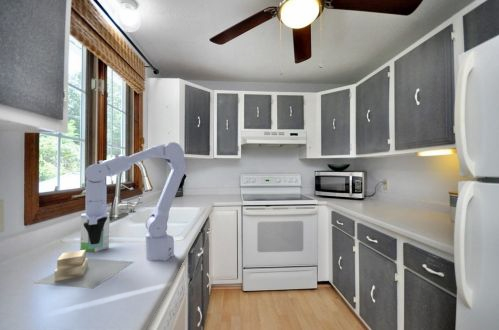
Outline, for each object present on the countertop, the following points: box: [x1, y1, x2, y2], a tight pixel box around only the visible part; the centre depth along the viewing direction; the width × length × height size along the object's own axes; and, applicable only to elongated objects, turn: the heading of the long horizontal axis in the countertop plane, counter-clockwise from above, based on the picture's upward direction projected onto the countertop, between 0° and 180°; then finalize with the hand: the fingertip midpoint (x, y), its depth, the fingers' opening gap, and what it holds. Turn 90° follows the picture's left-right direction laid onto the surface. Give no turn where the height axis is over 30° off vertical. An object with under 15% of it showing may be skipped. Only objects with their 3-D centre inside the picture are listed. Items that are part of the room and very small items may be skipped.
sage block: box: [88, 229, 104, 249], centre depth 73 cm, size 4×4×5 cm
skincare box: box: [79, 212, 111, 253], centre depth 92 cm, size 8×7×16 cm
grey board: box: [33, 258, 135, 289], centre depth 71 cm, size 20×17×1 cm
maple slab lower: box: [54, 257, 89, 281], centre depth 70 cm, size 7×7×3 cm
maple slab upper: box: [56, 249, 87, 270], centre depth 70 cm, size 6×6×3 cm
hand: (96, 241), depth 73 cm, fingers closed on sage block, 4 cm apart
